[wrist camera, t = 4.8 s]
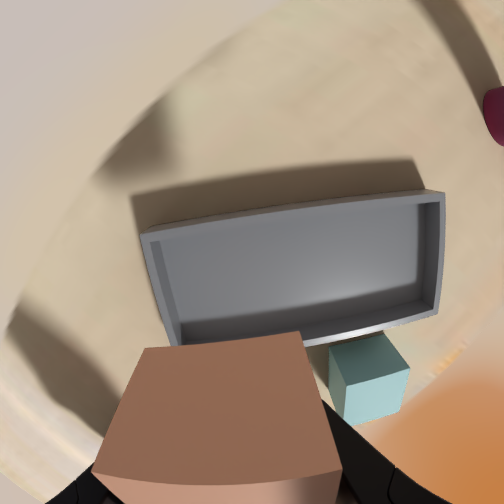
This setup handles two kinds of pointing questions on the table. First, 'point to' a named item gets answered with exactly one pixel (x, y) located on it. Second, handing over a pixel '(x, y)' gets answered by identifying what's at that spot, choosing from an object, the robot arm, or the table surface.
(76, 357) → the table surface
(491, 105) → the cup
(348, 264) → the tray
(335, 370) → the teal block
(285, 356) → the terracotta block
